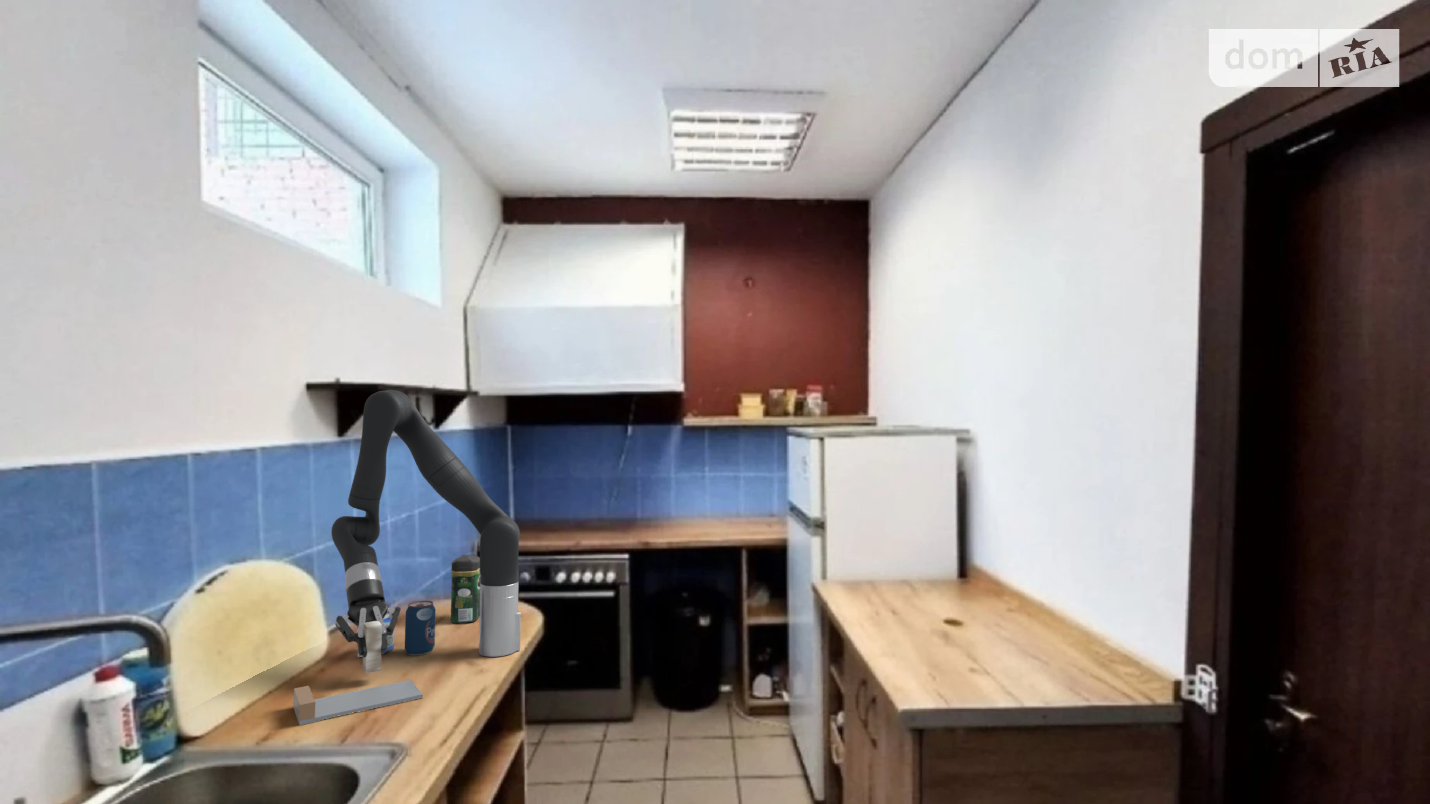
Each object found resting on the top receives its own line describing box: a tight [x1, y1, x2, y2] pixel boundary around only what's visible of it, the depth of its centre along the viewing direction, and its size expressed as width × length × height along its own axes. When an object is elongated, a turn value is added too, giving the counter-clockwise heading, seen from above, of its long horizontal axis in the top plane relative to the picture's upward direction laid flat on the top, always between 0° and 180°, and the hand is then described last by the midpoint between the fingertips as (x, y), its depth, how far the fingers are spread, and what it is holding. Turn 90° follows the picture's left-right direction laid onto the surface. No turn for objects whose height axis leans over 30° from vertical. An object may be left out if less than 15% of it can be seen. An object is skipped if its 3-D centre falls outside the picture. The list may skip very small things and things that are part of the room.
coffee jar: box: [450, 554, 480, 625], centre depth 199 cm, size 10×8×19 cm
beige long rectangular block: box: [362, 621, 382, 675], centre depth 150 cm, size 3×4×10 cm
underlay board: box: [293, 679, 424, 726], centre depth 139 cm, size 22×10×4 cm, turn 127°
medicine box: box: [357, 613, 395, 658], centre depth 169 cm, size 8×4×9 cm, turn 168°
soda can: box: [404, 600, 437, 656], centre depth 170 cm, size 7×7×12 cm
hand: (374, 653), depth 148 cm, fingers closed on beige long rectangular block, 3 cm apart
